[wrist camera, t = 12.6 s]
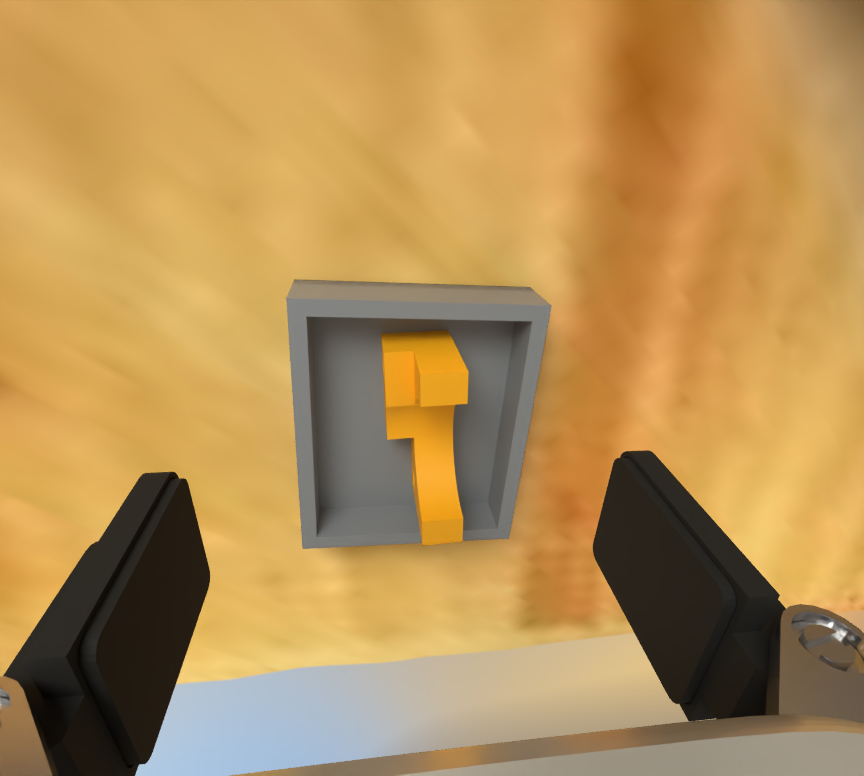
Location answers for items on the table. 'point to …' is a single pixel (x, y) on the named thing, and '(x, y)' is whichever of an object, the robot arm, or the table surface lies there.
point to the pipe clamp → (427, 422)
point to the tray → (365, 410)
